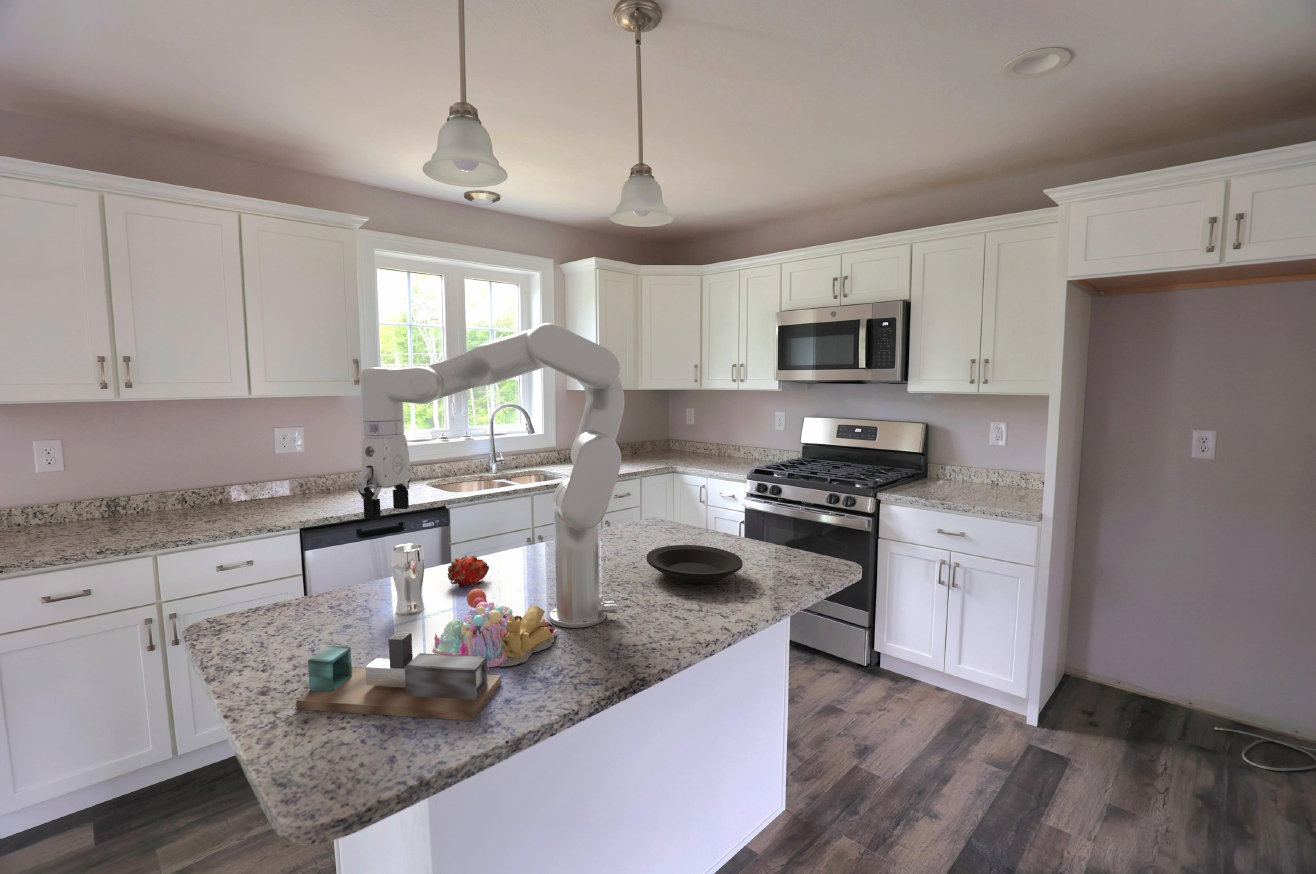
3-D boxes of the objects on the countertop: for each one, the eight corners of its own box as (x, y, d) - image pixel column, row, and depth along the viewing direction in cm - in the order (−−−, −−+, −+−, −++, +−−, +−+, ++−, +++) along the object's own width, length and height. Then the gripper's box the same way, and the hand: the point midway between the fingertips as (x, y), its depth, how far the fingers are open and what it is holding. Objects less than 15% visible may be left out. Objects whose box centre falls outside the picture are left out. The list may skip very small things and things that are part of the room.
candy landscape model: (572, 627, 135) (571, 586, 134) (525, 678, 112) (524, 628, 111) (468, 617, 140) (467, 578, 140) (403, 664, 118) (401, 617, 117)
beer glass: (414, 617, 140) (412, 552, 139) (387, 615, 141) (384, 550, 140) (432, 606, 147) (429, 544, 145) (405, 604, 148) (402, 542, 147)
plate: (763, 584, 161) (763, 563, 160) (689, 603, 148) (689, 580, 147) (696, 558, 184) (696, 540, 184) (628, 573, 171) (628, 553, 170)
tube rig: (501, 683, 109) (499, 646, 109) (472, 720, 97) (471, 679, 97) (342, 674, 113) (340, 638, 112) (296, 709, 101) (294, 669, 100)
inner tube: (482, 682, 105) (480, 635, 104) (474, 691, 102) (472, 643, 101) (377, 676, 107) (374, 630, 106) (366, 685, 104) (363, 638, 103)
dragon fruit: (443, 596, 158) (485, 591, 166) (458, 582, 153) (501, 578, 162) (437, 565, 161) (478, 562, 170) (451, 551, 157) (493, 548, 165)
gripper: (374, 433, 115) (378, 524, 116) (424, 426, 132) (427, 505, 133) (337, 433, 116) (342, 522, 118) (391, 426, 133) (395, 504, 135)
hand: (387, 513), depth 126 cm, fingers open, 9 cm apart
